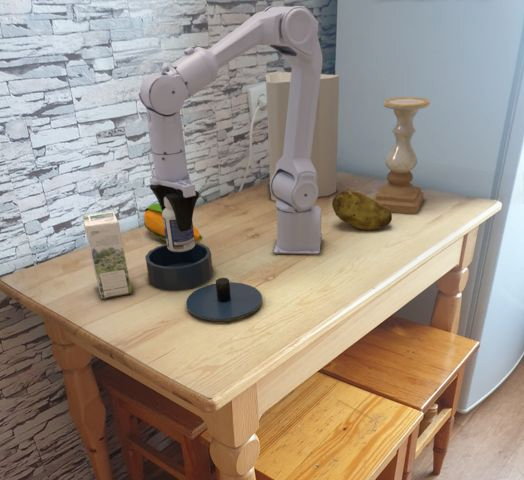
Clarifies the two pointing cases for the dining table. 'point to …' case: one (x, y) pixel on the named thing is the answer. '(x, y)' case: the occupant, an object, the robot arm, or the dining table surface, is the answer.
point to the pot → (179, 267)
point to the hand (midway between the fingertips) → (178, 225)
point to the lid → (224, 301)
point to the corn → (160, 222)
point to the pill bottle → (176, 231)
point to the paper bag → (323, 129)
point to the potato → (361, 210)
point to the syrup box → (107, 254)
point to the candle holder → (402, 159)
